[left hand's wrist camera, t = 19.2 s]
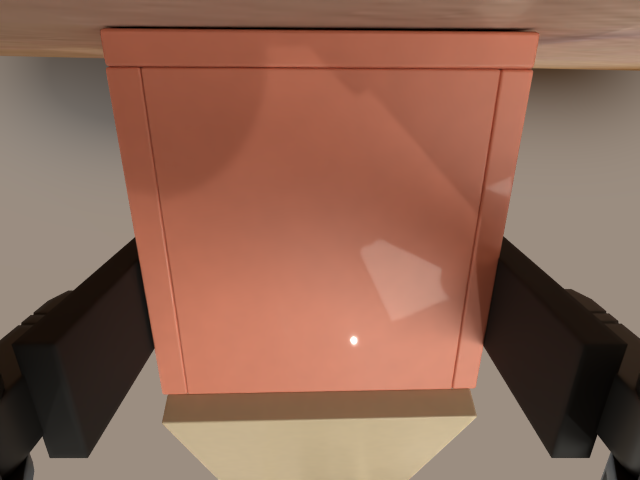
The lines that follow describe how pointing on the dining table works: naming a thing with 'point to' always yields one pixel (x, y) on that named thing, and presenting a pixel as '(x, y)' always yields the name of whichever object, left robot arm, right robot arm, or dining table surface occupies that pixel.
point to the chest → (318, 200)
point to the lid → (318, 432)
